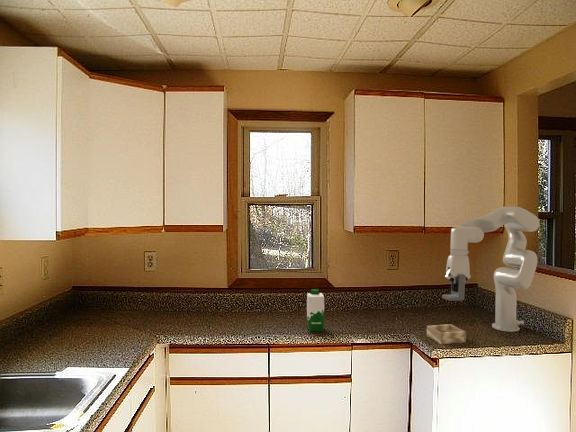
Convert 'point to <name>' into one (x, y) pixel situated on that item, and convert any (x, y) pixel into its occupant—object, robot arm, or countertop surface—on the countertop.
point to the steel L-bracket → (460, 290)
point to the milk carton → (315, 310)
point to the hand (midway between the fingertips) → (457, 291)
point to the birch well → (446, 334)
